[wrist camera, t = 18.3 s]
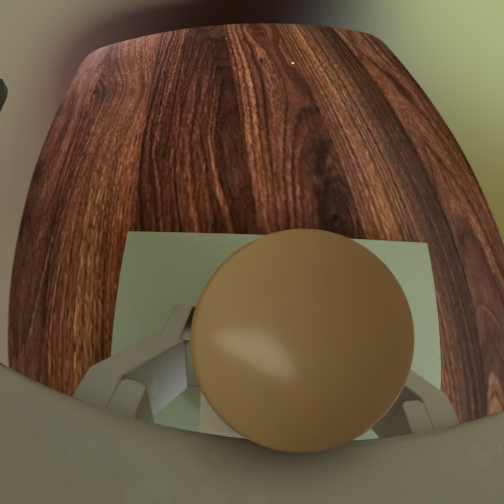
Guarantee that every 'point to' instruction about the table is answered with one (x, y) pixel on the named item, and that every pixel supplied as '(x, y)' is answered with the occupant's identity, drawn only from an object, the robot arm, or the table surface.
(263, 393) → the stamp
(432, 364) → the mat
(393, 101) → the table surface
